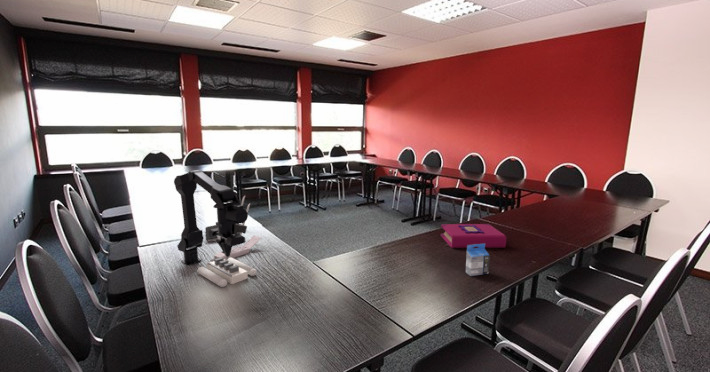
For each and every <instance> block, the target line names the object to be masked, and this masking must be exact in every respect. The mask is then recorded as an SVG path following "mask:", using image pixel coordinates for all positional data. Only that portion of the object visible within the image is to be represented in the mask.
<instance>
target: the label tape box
mask: <svg viewBox="0 0 710 372" xmlns="http://www.w3.org/2000/svg"><path fill="white" fill-rule="evenodd" d="M476 246H477V247H479V248H473V247H476ZM465 255H466V256H465V257H466V260H465V273H466V274H467V275H468V276H470V277H474V276H475V277H476V276H481V275H488V274H489V272H490V257H491V256H490V254H489V252H488V251H487V250H486V248H485V244H475V245H467V248H466V254H465Z"/></svg>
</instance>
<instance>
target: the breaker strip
mask: <svg viewBox="0 0 710 372" xmlns="http://www.w3.org/2000/svg"><path fill="white" fill-rule="evenodd" d="M213 259H214V258H213ZM206 269H208V270H210V271H211V272H213V273H215V274H216V275H218V276H220V277H222V278H223V279H225V280H226V281H227V283H229V284H230V285H235V284H236V283H239V282H242V281H245V280H246V279H248V278H249V274H248V273H247V271H246V270H244V269H242V268H240V267H239V266H238V265H234V263H232V262H229V261H228V260H224V258H222V257H221V258H217V259H214V261H207V262H206Z"/></svg>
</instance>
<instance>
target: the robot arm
mask: <svg viewBox="0 0 710 372" xmlns="http://www.w3.org/2000/svg"><path fill="white" fill-rule="evenodd" d="M173 184H174V186H175V190H176V192H178V194H179V195H180V198H181V207H182V208H181V209H182V218H183V226H184V228H183V230H182V233H180V235H181V236H180V239H181V240H180V241H179V243H178V244H177V249H178V251H179V252H182V253H183V259H181V261H180V262H182V263H183V264H185V266H186V265H187V266H189V265H192V264H196V263H200V262H202V259H201V258H199V251H198V249H199V248H201V247H203V241H204V233H203V230H202V229H200V227H198V224H197V214H196V206H195V198H194V197H195V196H194V195H195V192H196V191H197V189H198V188H197V187H198V186H200V187H201V188H202V189H203V190H205V191H206V192H207V193H208V194H209V195H210V199H211V200H212V201H213V202H214V203H215V204H214V205H213V208H214V209H216V219H217V222H215V225H218V228H215V229H211V230H210V231H209V237H211V238H213V237H214V235H217V238H218V239H217V240H216V241H215V242H216V243H217V244H218V246H219V247H220V249H221V250H222V251H223V252H224V254H225V255H226V257H229V256H230V252H231V249H233V247H235V246H238V245H242V244H246V237H245V236H244V235H243V234H246V232H247V229H248V226H247V225H245V224H244V225H242V224H243V223H244V222H245V223H246V221H247V220H248V218H249V214H248V213H249V212H248V213H247V211H246V209H245V208H244V205H243V206H242V205H241V203H240V201H239V199H238V197H237V195H236V194H235V192H234V190H233V189H232V188H231V187H229V186H227V185H223V184H219V183H218V182H216V181H215V180H214V179H212V178H211V177H209V176H208V175H207V174H205V173H204V170H201V169H197V170H195V169H194V170H190V171H188V172H186V173H184V174H181V175H176V177H175V178H174V180H173ZM227 202H229V203H227ZM237 232H239V233H242V235H239V234H237ZM233 234H237V235H233Z"/></svg>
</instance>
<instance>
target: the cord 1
mask: <svg viewBox="0 0 710 372" xmlns="http://www.w3.org/2000/svg"><path fill="white" fill-rule="evenodd" d="M197 273H198V274H199V275H200V276H202V277H204V278H206V280H208V281H210V282H212V283H214V284H215V285H217V286H219V287H220V288H225V287H226V286H227V284H228V282H227V281H226V280H225V279H223V278H222V277H220V276H218V275H216V274H215V273H213V272H211V271H210V270H208V269H207V267H204V266H199V267H198V269H197Z"/></svg>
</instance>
